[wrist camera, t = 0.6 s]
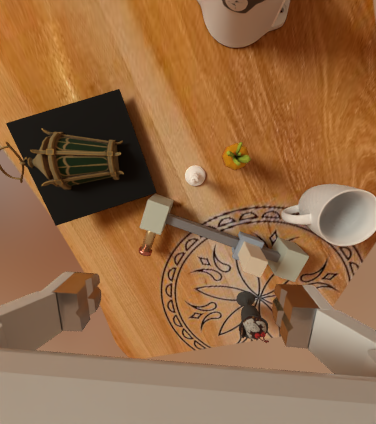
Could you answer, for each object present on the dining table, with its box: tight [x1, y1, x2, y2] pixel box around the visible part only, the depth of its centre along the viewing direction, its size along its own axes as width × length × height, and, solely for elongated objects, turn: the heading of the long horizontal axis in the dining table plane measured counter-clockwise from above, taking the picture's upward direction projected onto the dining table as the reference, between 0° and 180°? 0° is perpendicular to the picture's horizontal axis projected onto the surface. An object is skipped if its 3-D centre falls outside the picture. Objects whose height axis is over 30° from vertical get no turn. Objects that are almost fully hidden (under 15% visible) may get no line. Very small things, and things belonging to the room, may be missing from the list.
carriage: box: [232, 232, 268, 277], centre depth 46 cm, size 6×5×11 cm
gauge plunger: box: [139, 230, 156, 256], centre depth 51 cm, size 10×3×3 cm, turn 161°
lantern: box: [0, 89, 157, 225], centre depth 47 cm, size 14×23×30 cm
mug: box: [282, 184, 376, 246], centre depth 44 cm, size 15×11×13 cm
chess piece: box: [185, 165, 205, 186], centre depth 46 cm, size 5×5×10 cm
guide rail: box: [140, 194, 309, 282], centre depth 51 cm, size 8×38×7 cm, turn 71°
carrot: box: [222, 142, 251, 170], centre depth 42 cm, size 5×5×15 cm
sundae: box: [237, 292, 269, 343], centre depth 52 cm, size 7×7×15 cm
